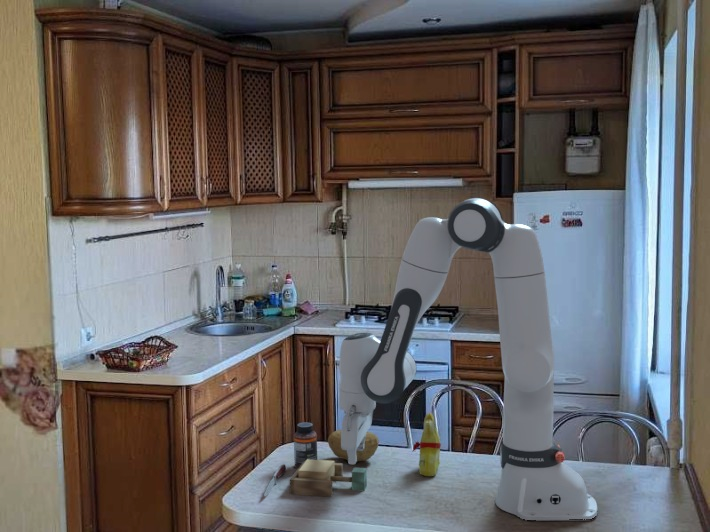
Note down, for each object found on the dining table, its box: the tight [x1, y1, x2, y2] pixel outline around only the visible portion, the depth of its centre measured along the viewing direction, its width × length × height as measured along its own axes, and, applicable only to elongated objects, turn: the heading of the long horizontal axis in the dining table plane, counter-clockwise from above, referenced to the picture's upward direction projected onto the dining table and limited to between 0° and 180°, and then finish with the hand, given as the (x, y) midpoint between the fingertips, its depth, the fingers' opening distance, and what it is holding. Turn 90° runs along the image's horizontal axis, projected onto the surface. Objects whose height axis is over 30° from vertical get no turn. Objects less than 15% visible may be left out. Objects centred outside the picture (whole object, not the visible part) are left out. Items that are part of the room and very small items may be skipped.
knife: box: [263, 463, 287, 497], centre depth 200 cm, size 20×1×3 cm, turn 172°
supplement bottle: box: [293, 421, 318, 470], centre depth 212 cm, size 6×6×11 cm
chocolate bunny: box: [412, 412, 442, 477], centre depth 208 cm, size 7×11×15 cm, turn 167°
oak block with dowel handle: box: [298, 459, 368, 492], centre depth 198 cm, size 16×8×5 cm, turn 78°
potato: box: [327, 429, 380, 462], centre depth 217 cm, size 10×14×8 cm
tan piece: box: [289, 461, 344, 498], centre depth 199 cm, size 10×13×4 cm
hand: (356, 456), depth 197 cm, fingers open, 8 cm apart
